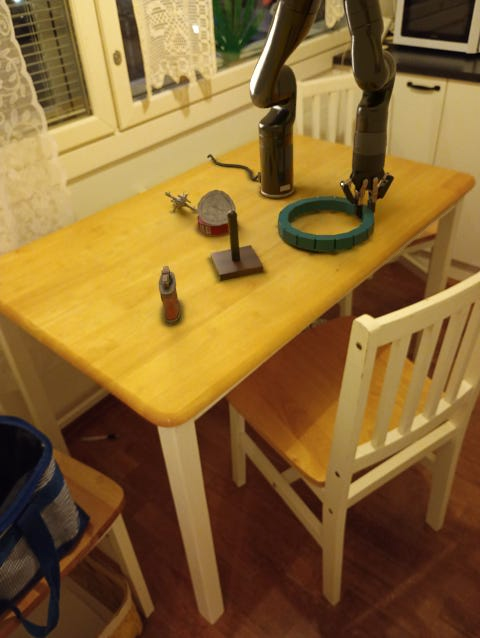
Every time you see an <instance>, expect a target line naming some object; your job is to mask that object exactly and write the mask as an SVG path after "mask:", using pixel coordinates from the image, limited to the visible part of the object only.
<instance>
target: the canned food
mask: <svg viewBox="0 0 480 638" xmlns="http://www.w3.org/2000/svg"><path fill="white" fill-rule="evenodd" d="M196 209H197V211H196V212H197V216H196V220H197V229H198V232H200V233H201V234H202V235H205V236H209V237H220V236H224V235H227V234H228V235H229V226H228V218H227V214H228V212H229V211H235V212H236V209H237V207H236V204H235V203H234V200H233V199H232V198H231V196H230V195H229V194H228V193H226V192H225V191H224V190H219V189H213V190H209V191H208V192H206V193H205V194H204V195H203V196H201V197H200V199H199V201H198V203H197V207H196Z"/></svg>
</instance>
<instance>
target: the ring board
mask: <svg viewBox="0 0 480 638" xmlns="http://www.w3.org/2000/svg"><path fill="white" fill-rule="evenodd" d="M227 218H228V226H229V233H228V235H229V246H230V248H228V249H224V250H218V251H214V252H209V256H210V260H211V263H212V264H213V265H212V266H213V267H214V269H215V272H216V274H217V276H218V279H219V281H220V282H221V281H225V280H230V279H235V278H240V277H246V276H250V275H256V274H259V273H264V265H263V263H262V262H261V259H260V258H259V256H258V254H257V253H256V252H255V250H254V248H253V246H252V244H249V245H243V246H240V238H239V226H238V213H237V212H236V210H235V211H229V212H228V214H227Z"/></svg>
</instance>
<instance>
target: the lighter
mask: <svg viewBox="0 0 480 638" xmlns="http://www.w3.org/2000/svg"><path fill="white" fill-rule="evenodd" d="M158 279H159V280H158V291H159V294H160V299H161V302H162V306H163V315H164V320H165V323H166V324H167V325H176V324H178V323H179V321H180V319H181V314H182V309H181V303H180V300H179V297H178V290H177V280H176V276H175V273H174V272H173V271H171V270H170V266H169V265H163V266H162V270H160V277H159V278H158Z"/></svg>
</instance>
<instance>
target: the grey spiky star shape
mask: <svg viewBox="0 0 480 638" xmlns="http://www.w3.org/2000/svg"><path fill="white" fill-rule="evenodd" d="M188 195H189V193H186V191H185V190H184V191H183V192H182V194H181V195H180V194H177V196H173V195H172V194H171V191H170V190H169V191H168V192H167V191H165V196H167V197H168V198H170V202H171V203H172V204H173V205H174V208H173V209H172V212H173V213H174V212H175V211H176V210H177V209H181V208H183V207H184V208H188V209H190V210H191V211H192V212H194V213H196V212H197V208H196V206H191V205H190V204H192V202H191V200H189V199H188Z"/></svg>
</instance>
